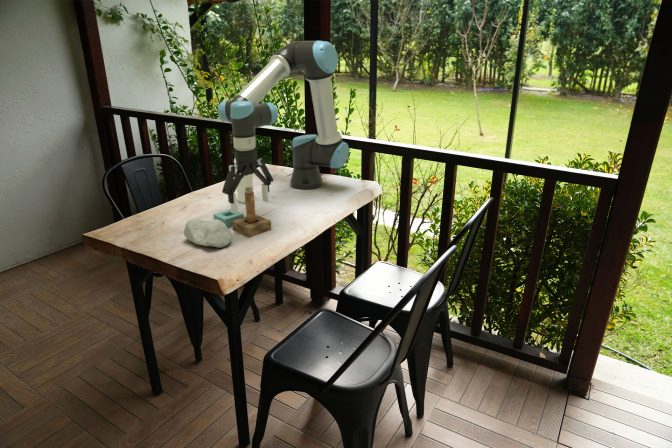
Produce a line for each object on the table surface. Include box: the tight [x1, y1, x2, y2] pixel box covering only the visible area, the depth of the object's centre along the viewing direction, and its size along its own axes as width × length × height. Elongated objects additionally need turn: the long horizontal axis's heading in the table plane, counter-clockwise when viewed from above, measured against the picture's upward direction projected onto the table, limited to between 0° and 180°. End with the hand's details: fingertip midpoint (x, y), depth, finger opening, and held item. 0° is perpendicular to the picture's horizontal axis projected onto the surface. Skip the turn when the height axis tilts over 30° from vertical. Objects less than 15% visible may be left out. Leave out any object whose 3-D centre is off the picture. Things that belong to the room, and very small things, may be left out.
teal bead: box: [213, 208, 244, 229], centre depth 177 cm, size 8×8×4 cm
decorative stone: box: [183, 218, 233, 248], centre depth 160 cm, size 17×10×10 cm
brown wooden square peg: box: [244, 187, 257, 224], centre depth 168 cm, size 3×3×16 cm
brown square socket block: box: [232, 213, 272, 238], centre depth 171 cm, size 10×10×4 cm
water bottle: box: [233, 158, 254, 204], centre depth 196 cm, size 7×7×25 cm
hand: (250, 206), depth 168 cm, fingers open, 13 cm apart
